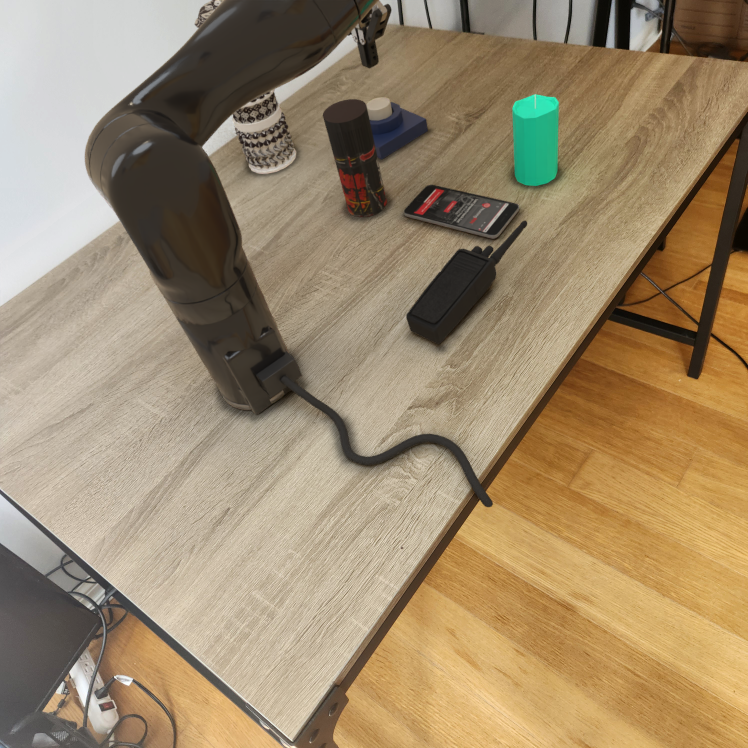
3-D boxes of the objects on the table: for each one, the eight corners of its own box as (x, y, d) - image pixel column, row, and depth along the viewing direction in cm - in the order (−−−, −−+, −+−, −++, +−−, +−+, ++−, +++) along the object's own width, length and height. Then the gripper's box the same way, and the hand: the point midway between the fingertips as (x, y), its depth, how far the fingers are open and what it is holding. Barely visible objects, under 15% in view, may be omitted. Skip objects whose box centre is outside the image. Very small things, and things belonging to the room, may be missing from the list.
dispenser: (428, 130, 107) (424, 108, 104) (381, 159, 104) (376, 137, 101) (386, 112, 113) (382, 90, 110) (342, 139, 110) (336, 117, 107)
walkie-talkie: (393, 317, 77) (487, 210, 84) (428, 353, 78) (519, 245, 85) (414, 306, 72) (513, 193, 78) (452, 345, 73) (547, 230, 79)
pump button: (397, 113, 105) (395, 101, 104) (378, 124, 104) (376, 112, 103) (382, 106, 108) (379, 94, 106) (363, 117, 106) (360, 105, 105)
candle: (565, 175, 92) (568, 94, 83) (528, 191, 91) (526, 111, 82) (543, 156, 96) (543, 77, 87) (507, 171, 95) (503, 93, 86)
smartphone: (428, 183, 96) (521, 204, 88) (428, 187, 96) (521, 208, 89) (401, 212, 92) (495, 236, 85) (402, 216, 93) (495, 240, 86)
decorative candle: (292, 172, 107) (238, 13, 88) (240, 177, 109) (177, 22, 90) (304, 142, 112) (256, -14, 93) (254, 147, 114) (198, -5, 96)
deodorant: (343, 201, 98) (318, 108, 87) (380, 188, 99) (359, 94, 88) (354, 222, 94) (329, 128, 83) (392, 208, 95) (372, 113, 84)
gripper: (396, -68, 84) (416, 64, 97) (338, -79, 92) (363, 45, 105) (351, -46, 82) (378, 87, 95) (295, -58, 90) (327, 66, 103)
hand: (370, 65), depth 100 cm, fingers closed
